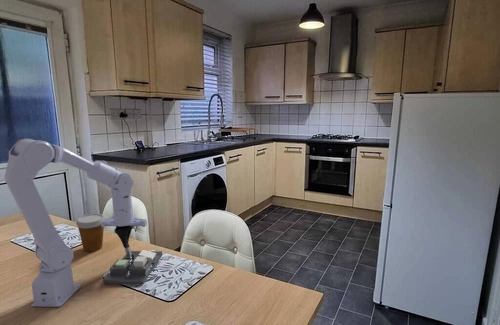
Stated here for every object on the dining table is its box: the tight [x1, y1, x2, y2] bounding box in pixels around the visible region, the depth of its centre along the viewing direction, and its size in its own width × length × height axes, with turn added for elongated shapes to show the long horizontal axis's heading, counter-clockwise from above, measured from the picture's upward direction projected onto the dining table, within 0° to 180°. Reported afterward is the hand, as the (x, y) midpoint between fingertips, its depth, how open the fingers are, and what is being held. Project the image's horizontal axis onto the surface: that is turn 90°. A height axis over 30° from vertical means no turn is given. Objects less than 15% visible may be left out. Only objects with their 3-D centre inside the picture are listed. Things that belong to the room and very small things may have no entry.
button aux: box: [133, 256, 147, 267], centre depth 91 cm, size 3×3×2 cm
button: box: [115, 259, 129, 267], centre depth 92 cm, size 3×3×2 cm
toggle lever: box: [124, 243, 132, 257], centre depth 97 cm, size 2×2×5 cm
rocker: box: [138, 249, 156, 260], centre depth 98 cm, size 4×5×1 cm
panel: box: [103, 250, 163, 286], centre depth 95 cm, size 18×12×3 cm
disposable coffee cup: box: [75, 213, 106, 253], centre depth 108 cm, size 10×10×12 cm
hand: (126, 246), depth 97 cm, fingers closed, pressing on toggle lever
